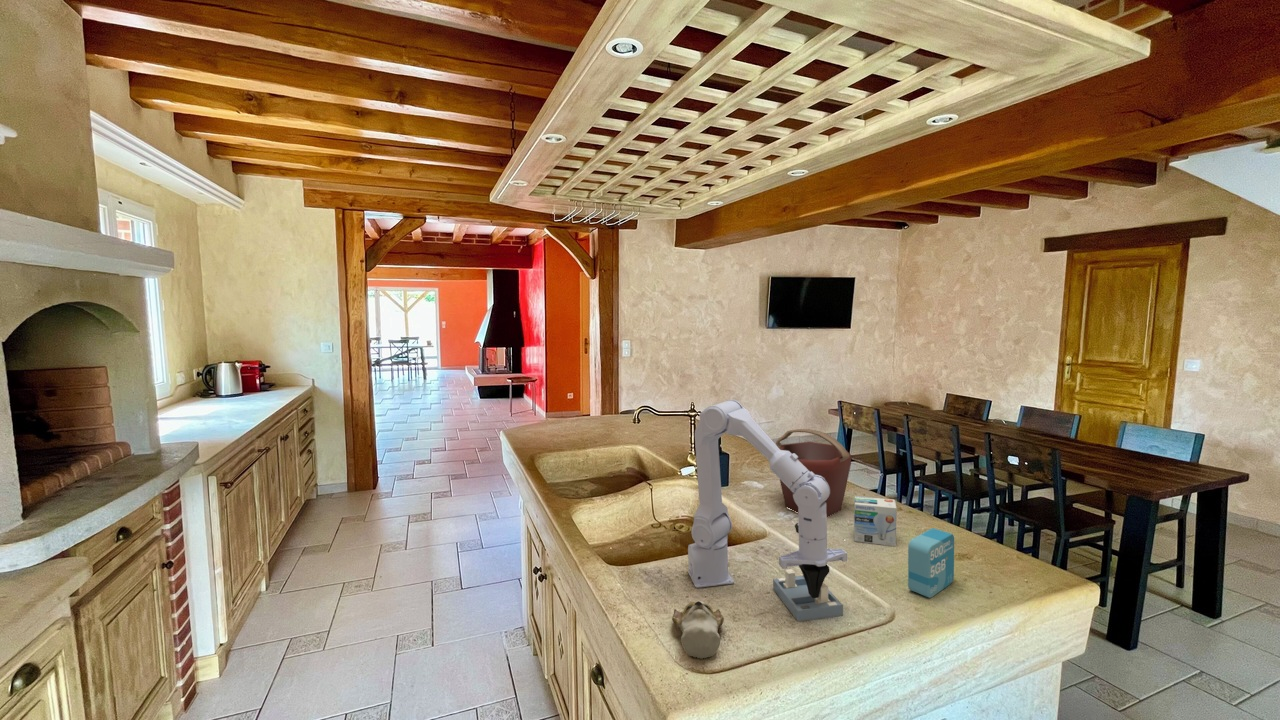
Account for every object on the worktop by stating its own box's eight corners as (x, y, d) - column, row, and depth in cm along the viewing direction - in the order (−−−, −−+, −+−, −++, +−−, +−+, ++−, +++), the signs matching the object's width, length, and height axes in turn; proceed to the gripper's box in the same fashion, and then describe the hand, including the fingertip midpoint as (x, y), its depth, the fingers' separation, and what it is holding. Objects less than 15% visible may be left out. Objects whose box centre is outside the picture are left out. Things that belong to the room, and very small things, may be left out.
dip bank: (797, 621, 108) (797, 610, 107) (773, 588, 120) (773, 578, 120) (842, 615, 109) (842, 604, 109) (813, 583, 122) (813, 573, 122)
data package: (928, 600, 113) (928, 547, 112) (907, 591, 117) (907, 540, 116) (954, 582, 120) (954, 532, 119) (934, 574, 124) (934, 526, 122)
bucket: (762, 501, 175) (760, 428, 172) (812, 489, 184) (811, 419, 181) (814, 527, 153) (813, 444, 150) (868, 512, 162) (868, 433, 159)
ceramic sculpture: (672, 621, 95) (670, 583, 110) (673, 667, 95) (672, 623, 110) (730, 620, 95) (721, 582, 110) (731, 667, 95) (722, 622, 110)
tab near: (819, 607, 110) (818, 588, 110) (814, 602, 112) (814, 583, 112) (830, 606, 111) (830, 586, 110) (826, 601, 113) (825, 581, 112)
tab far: (786, 592, 117) (786, 574, 116) (783, 588, 119) (782, 569, 118) (797, 591, 117) (797, 572, 117) (793, 586, 119) (793, 568, 118)
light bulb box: (854, 541, 142) (853, 504, 141) (853, 531, 148) (853, 495, 147) (897, 547, 138) (897, 507, 137) (895, 536, 144) (895, 499, 143)
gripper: (788, 546, 105) (789, 610, 106) (854, 538, 107) (855, 601, 108) (774, 532, 112) (775, 591, 113) (837, 525, 114) (837, 584, 115)
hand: (813, 595), depth 111 cm, fingers closed
